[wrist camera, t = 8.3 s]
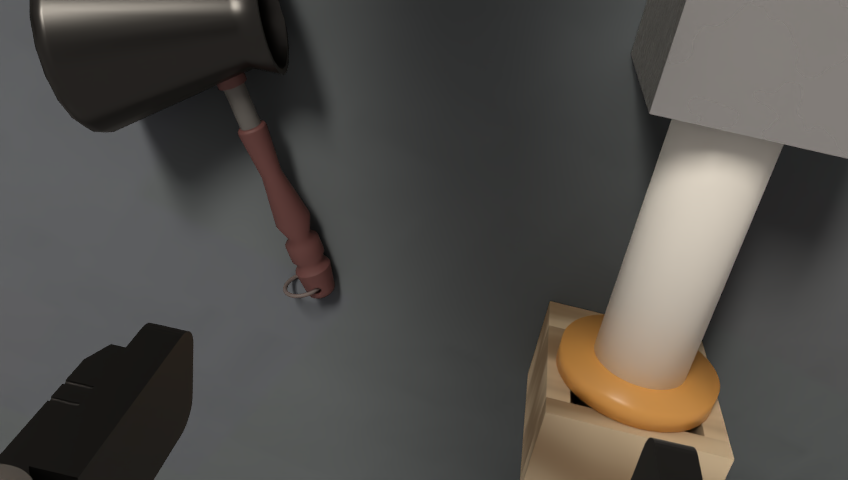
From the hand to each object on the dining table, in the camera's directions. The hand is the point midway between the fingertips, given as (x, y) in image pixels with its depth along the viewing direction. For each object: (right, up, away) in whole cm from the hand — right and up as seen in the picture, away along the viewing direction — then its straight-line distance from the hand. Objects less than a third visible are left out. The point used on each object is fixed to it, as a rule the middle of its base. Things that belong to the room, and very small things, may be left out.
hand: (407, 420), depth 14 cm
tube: (+11, +5, +21) cm, 24 cm away
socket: (+10, -3, +26) cm, 28 cm away
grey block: (+13, +13, +18) cm, 26 cm away
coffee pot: (-9, +9, +25) cm, 28 cm away
